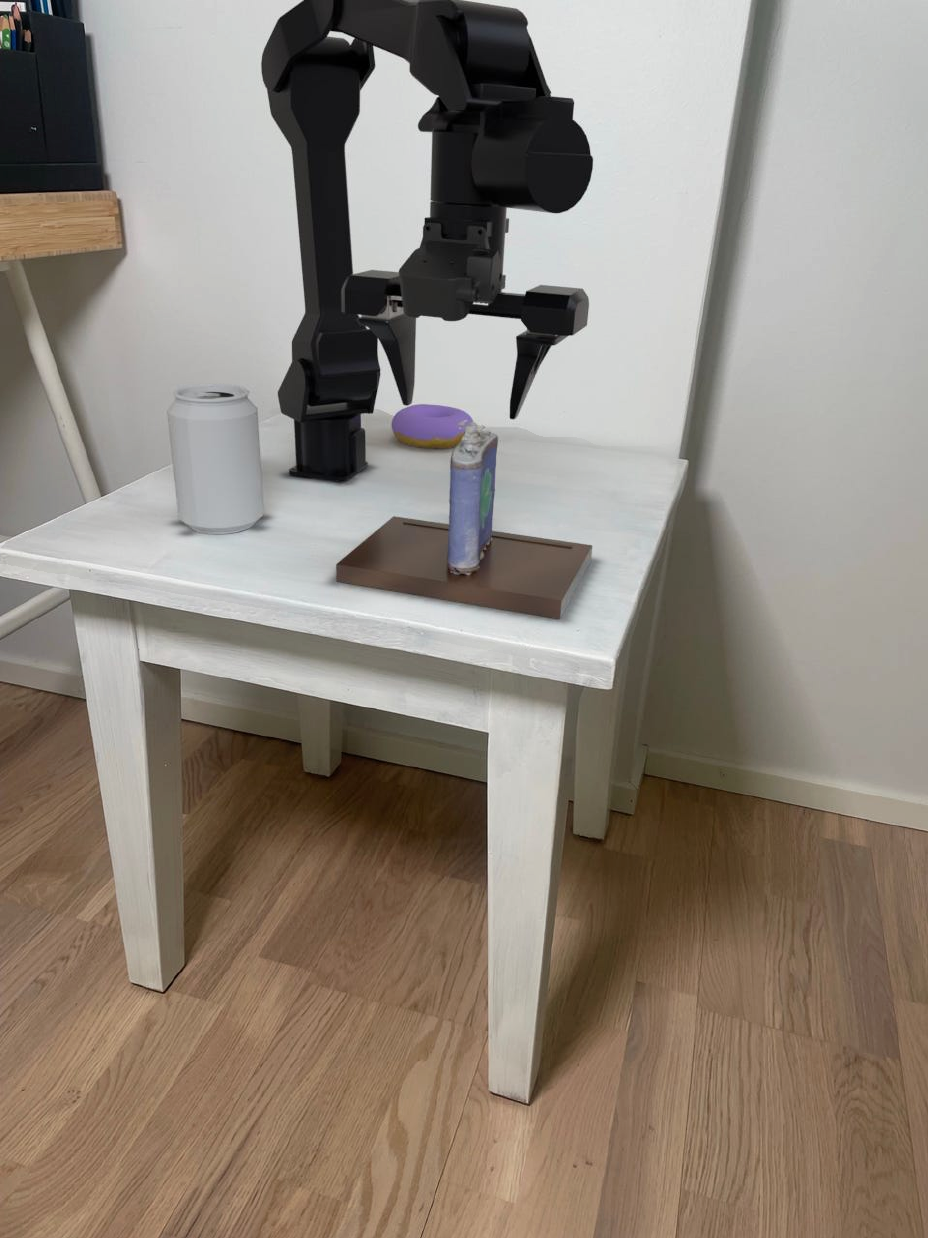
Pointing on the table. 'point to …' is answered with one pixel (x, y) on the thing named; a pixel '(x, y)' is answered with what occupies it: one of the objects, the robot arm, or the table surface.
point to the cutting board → (504, 580)
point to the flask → (471, 498)
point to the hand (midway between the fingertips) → (459, 411)
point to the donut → (430, 426)
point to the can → (216, 458)
